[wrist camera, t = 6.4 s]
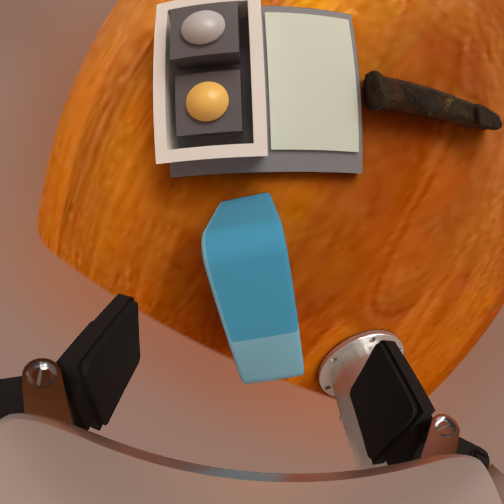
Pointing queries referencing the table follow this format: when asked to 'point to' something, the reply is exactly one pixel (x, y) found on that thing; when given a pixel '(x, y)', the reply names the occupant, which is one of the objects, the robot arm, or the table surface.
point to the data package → (253, 288)
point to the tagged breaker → (209, 104)
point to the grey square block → (205, 35)
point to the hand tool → (425, 102)
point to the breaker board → (270, 95)
